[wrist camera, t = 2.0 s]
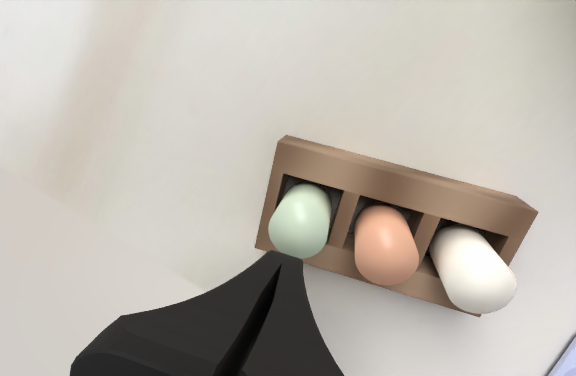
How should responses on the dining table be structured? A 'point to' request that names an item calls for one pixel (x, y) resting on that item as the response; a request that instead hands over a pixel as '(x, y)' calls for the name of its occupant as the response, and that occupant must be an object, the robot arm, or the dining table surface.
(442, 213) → the wooden three-slot tray
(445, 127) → the dining table surface
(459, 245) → the white rounded cylinder
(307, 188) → the button sage
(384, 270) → the salmon pink cylinder
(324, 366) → the robot arm
